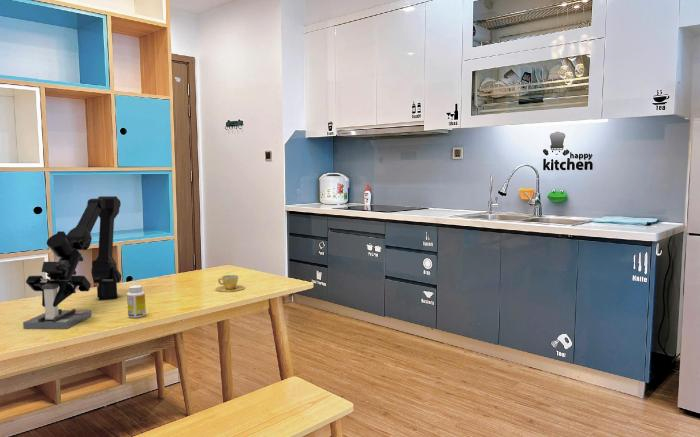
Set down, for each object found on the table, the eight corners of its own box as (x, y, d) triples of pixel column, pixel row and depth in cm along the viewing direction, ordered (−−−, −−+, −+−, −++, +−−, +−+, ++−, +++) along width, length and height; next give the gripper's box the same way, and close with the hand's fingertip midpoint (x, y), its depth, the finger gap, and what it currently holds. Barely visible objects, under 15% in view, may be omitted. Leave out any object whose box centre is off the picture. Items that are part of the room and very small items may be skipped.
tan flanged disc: (248, 286, 218) (248, 273, 217) (239, 292, 206) (239, 279, 205) (221, 285, 219) (220, 273, 218) (210, 292, 207) (210, 279, 207)
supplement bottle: (147, 313, 176) (146, 284, 175) (143, 318, 171) (141, 288, 170) (131, 314, 176) (129, 284, 175) (125, 318, 170) (124, 288, 169)
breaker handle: (49, 316, 165) (47, 283, 164) (60, 316, 165) (58, 283, 164) (43, 319, 162) (41, 285, 161) (54, 319, 162) (52, 285, 161)
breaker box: (51, 315, 174) (50, 307, 174) (91, 316, 173) (91, 307, 173) (23, 328, 160) (22, 319, 160) (67, 328, 159) (66, 319, 159)
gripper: (27, 251, 165) (5, 292, 155) (83, 251, 165) (65, 293, 155) (44, 270, 174) (24, 311, 164) (98, 270, 173) (81, 311, 163)
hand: (48, 306), depth 161 cm, fingers closed on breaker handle, 3 cm apart
